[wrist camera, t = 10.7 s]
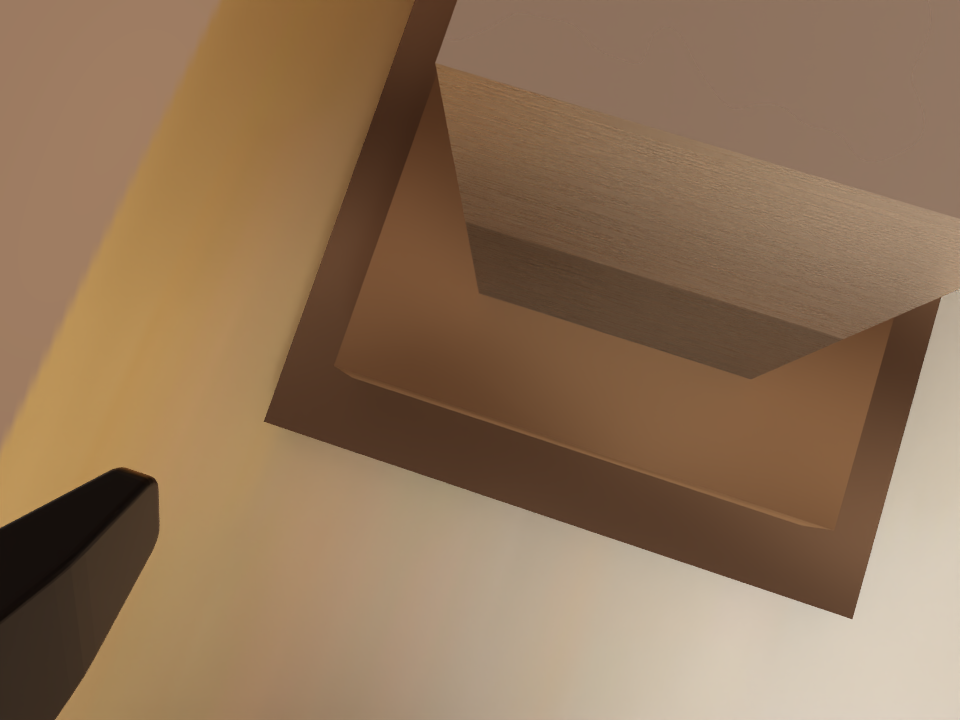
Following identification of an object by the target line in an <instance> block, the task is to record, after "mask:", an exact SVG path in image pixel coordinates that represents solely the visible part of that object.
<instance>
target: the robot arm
mask: <svg viewBox="0 0 960 720" xmlns="http://www.w3.org/2000/svg"><path fill="white" fill-rule="evenodd" d="M159 526H160V525H159V491H158V483H157V482H156V480H155V479H154V478H153V477H151V476H149V475H146V474H143V473H140V472H137V471H134V470H131V469H128V468H123V467H121V468H115V469H112V470H110V471H108V472H106V473H104V474H102V475H101V476H99V477H97V478H95V479H93V480H91V481H89V482H87V483H85V484H83V485H82V486H80V487H78V488H76V489H74V490H72V491H70V492H68V493H66V494H64V495H62V496H61V497H59V498H57V499H55V500H53V501H51V502H49V503H47V504H45V505H43V506H42V507H40V508H38V509H36V510H34V511H32V512H30V513H28V514H26V515H24V516H22V517H21V518H19V519H17V520H15V521H13V522H11V523H9V524H7V525H5V526H3V527H2V528H0V720H55V719H56V717H57V716H58V715H59V713H60V712H61V710H62V709H63V707H64V706H65V704H66V703H67V701H68V700H69V699H70V697H71V696H72V694H73V693H74V691H75V689H76V688H77V686H78V685H79V683H80V682H81V680H82V679H83V677H84V676H85V674H86V672H87V670H88V669H89V667H90V665H91V663H92V662H93V660H94V658H95V656H96V655H97V653H98V651H99V649H100V647H101V645H102V643H103V642H104V640H105V638H106V636H107V634H108V632H109V631H110V629H111V627H112V625H113V623H114V621H115V619H116V618H117V616H118V614H119V612H120V610H121V608H122V606H123V605H124V603H125V601H126V599H127V597H128V595H129V593H130V592H131V590H132V588H133V586H134V584H135V582H136V580H137V579H138V577H139V575H140V573H141V571H142V569H143V568H144V566H145V564H146V562H147V560H148V558H149V556H150V555H151V553H152V551H153V549H154V546H155V544H156V542H157V538H158V534H159Z"/></svg>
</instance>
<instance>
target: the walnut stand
mask: <svg viewBox="0 0 960 720" xmlns="http://www.w3.org/2000/svg"><path fill="white" fill-rule="evenodd" d="M456 3H457V0H415V2H414V5H413V8H412V11H411V14H410V16H409V19H408V22H407V25H406V27H405V30H404V33H403V36H402V39H401V41H400V44H399V47H398V50H397V53H396V55H395V58H394V61H393V64H392V66H391V69H390V72H389V75H388V78H387V80H386V83H385V86H384V89H383V91H382V94H381V97H380V100H379V103H378V105H377V108H376V111H375V114H374V117H373V119H372V122H371V125H370V128H369V130H368V133H367V136H366V139H365V142H364V144H363V147H362V150H361V153H360V156H359V158H358V161H357V164H356V167H355V169H354V172H353V175H352V178H351V181H350V183H349V186H348V189H347V192H346V194H345V197H344V200H343V203H342V206H341V208H340V211H339V214H338V217H337V220H336V222H335V225H334V228H333V231H332V233H331V236H330V239H329V242H328V245H327V247H326V250H325V253H324V256H323V258H322V261H321V264H320V267H319V270H318V272H317V275H316V278H315V281H314V284H313V286H312V289H311V292H310V295H309V297H308V300H307V303H306V306H305V309H304V311H303V314H302V317H301V320H300V323H299V325H298V328H297V331H296V334H295V336H294V339H293V342H292V345H291V348H290V350H289V353H288V356H287V359H286V361H285V364H284V367H283V370H282V373H281V375H280V378H279V381H278V384H277V387H276V389H275V392H274V395H273V398H272V400H271V403H270V406H269V409H268V412H267V414H266V417H265V420H264V422H267V423H270V424H273V425H276V426H279V427H282V428H285V429H288V430H291V431H294V432H297V433H300V434H303V435H306V436H309V437H312V438H315V439H318V440H321V441H324V442H326V443H329V444H332V445H335V446H338V447H341V448H344V449H347V450H350V451H353V452H356V453H359V454H362V455H365V456H368V457H371V458H374V459H377V460H380V461H383V462H386V463H389V464H392V465H395V466H398V467H401V468H404V469H407V470H410V471H413V472H416V473H419V474H422V475H425V476H428V477H431V478H434V479H437V480H440V481H443V482H446V483H449V484H452V485H454V486H457V487H460V488H463V489H466V490H469V491H472V492H475V493H478V494H481V495H484V496H487V497H490V498H493V499H496V500H499V501H502V502H505V503H508V504H511V505H514V506H517V507H520V508H523V509H526V510H529V511H532V512H535V513H538V514H541V515H544V516H547V517H550V518H553V519H556V520H559V521H562V522H565V523H568V524H571V525H574V526H577V527H580V528H583V529H585V530H588V531H591V532H594V533H597V534H600V535H603V536H606V537H609V538H612V539H615V540H618V541H621V542H624V543H627V544H630V545H633V546H636V547H639V548H642V549H645V550H648V551H651V552H654V553H657V554H660V555H663V556H666V557H669V558H672V559H675V560H678V561H681V562H684V563H687V564H690V565H693V566H696V567H699V568H702V569H705V570H708V571H711V572H713V573H716V574H719V575H722V576H725V577H728V578H731V579H734V580H737V581H740V582H743V583H746V584H749V585H752V586H755V587H758V588H761V589H764V590H767V591H770V592H773V593H776V594H779V595H782V596H785V597H788V598H791V599H794V600H797V601H800V602H803V603H806V604H809V605H812V606H815V607H818V608H821V609H824V610H827V611H830V612H833V613H836V614H839V615H841V616H844V617H847V618H850V619H852V618H853V615H854V611H855V608H856V604H857V600H858V597H859V593H860V589H861V586H862V582H863V579H864V575H865V571H866V568H867V564H868V560H869V557H870V553H871V550H872V546H873V542H874V539H875V535H876V531H877V528H878V524H879V521H880V517H881V513H882V510H883V506H884V502H885V499H886V495H887V491H888V488H889V484H890V481H891V477H892V473H893V470H894V466H895V462H896V459H897V455H898V452H899V448H900V444H901V441H902V437H903V433H904V430H905V426H906V423H907V419H908V415H909V412H910V408H911V404H912V401H913V397H914V394H915V390H916V386H917V383H918V379H919V375H920V372H921V368H922V365H923V361H924V357H925V354H926V350H927V346H928V343H929V339H930V336H931V332H932V328H933V325H934V321H935V317H936V314H937V310H938V306H939V303H940V299H941V297H940V298H937V299H935V300H933V301H930V302H928V303H926V304H923V305H921V306H919V307H917V308H914V309H912V310H910V311H907V312H905V313H903V314H900V315H898V316H896V317H894V318H891V319H889V320H887V321H884V322H882V323H880V324H877V325H875V326H873V327H870V328H868V329H866V330H864V331H861V332H859V333H857V334H854V335H852V336H850V337H847V338H845V339H843V340H841V341H838V342H836V343H834V344H831V345H829V346H827V347H824V348H822V349H820V350H818V351H815V352H813V353H811V354H808V355H806V356H804V357H801V358H799V359H797V360H795V361H792V362H790V363H788V364H785V365H783V366H781V367H778V368H776V369H774V370H772V371H769V372H767V373H765V374H762V375H760V376H758V377H755V378H753V379H748V378H745V377H742V376H739V375H736V374H732V373H729V372H726V371H723V370H720V369H717V368H714V367H710V366H707V365H704V364H701V363H698V362H695V361H691V360H688V359H685V358H682V357H679V356H676V355H672V354H669V353H666V352H663V351H660V350H657V349H653V348H650V347H647V346H644V345H641V344H638V343H635V342H631V341H628V340H625V339H622V338H619V337H616V336H612V335H609V334H606V333H603V332H600V331H597V330H593V329H590V328H587V327H584V326H581V325H578V324H574V323H571V322H568V321H565V320H562V319H559V318H556V317H552V316H549V315H546V314H543V313H540V312H537V311H533V310H530V309H527V308H524V307H521V306H518V305H514V304H511V303H508V302H505V301H502V300H499V299H495V298H492V297H489V296H486V295H483V294H480V293H479V291H478V286H477V280H476V275H475V270H474V265H473V259H472V254H471V249H470V244H469V238H468V233H467V228H466V222H465V217H464V212H463V207H462V201H461V196H460V191H459V186H458V180H457V175H456V170H455V164H454V159H453V154H452V149H451V143H450V138H449V133H448V128H447V122H446V117H445V112H444V106H443V101H442V96H441V91H440V85H439V80H438V75H437V70H436V64H435V62H436V60H437V57H438V54H439V51H440V48H441V45H442V42H443V40H444V37H445V34H446V31H447V28H448V25H449V23H450V20H451V17H452V14H453V11H454V8H455V5H456Z"/></svg>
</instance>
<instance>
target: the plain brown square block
mask: <svg viewBox="0 0 960 720" xmlns="http://www.w3.org/2000/svg"><path fill="white" fill-rule="evenodd" d="M435 64H436V70H437V75H438V80H439V85H440V91H441V96H442V101H443V106H444V112H445V117H446V122H447V128H448V133H449V138H450V143H451V149H452V154H453V159H454V164H455V170H456V175H457V180H458V186H459V191H460V196H461V201H462V207H463V212H464V217H465V222H466V228H467V233H468V238H469V244H470V249H471V254H472V259H473V265H474V270H475V275H476V280H477V286H478V291H479V293H480V294H483V295H486V296H489V297H492V298H495V299H499V300H502V301H505V302H508V303H511V304H514V305H518V306H521V307H524V308H527V309H530V310H533V311H537V312H540V313H543V314H546V315H549V316H552V317H556V318H559V319H562V320H565V321H568V322H571V323H574V324H578V325H581V326H584V327H587V328H590V329H593V330H597V331H600V332H603V333H606V334H609V335H612V336H616V337H619V338H622V339H625V340H628V341H631V342H635V343H638V344H641V345H644V346H647V347H650V348H653V349H657V350H660V351H663V352H666V353H669V354H672V355H676V356H679V357H682V358H685V359H688V360H691V361H695V362H698V363H701V364H704V365H707V366H710V367H714V368H717V369H720V370H723V371H726V372H729V373H732V374H736V375H739V376H742V377H745V378H748V379H753V378H755V377H758V376H760V375H762V374H765V373H767V372H769V371H772V370H774V369H776V368H778V367H781V366H783V365H785V364H788V363H790V362H792V361H795V360H797V359H799V358H801V357H804V356H806V355H808V354H811V353H813V352H815V351H818V350H820V349H822V348H824V347H827V346H829V345H831V344H834V343H836V342H838V341H841V340H843V339H845V338H847V337H850V336H852V335H854V334H857V333H859V332H861V331H864V330H866V329H868V328H870V327H873V326H875V325H877V324H880V323H882V322H884V321H887V320H889V319H891V318H894V317H896V316H898V315H900V314H903V313H905V312H907V311H910V310H912V309H914V308H917V307H919V306H921V305H923V304H926V303H928V302H930V301H933V300H935V299H937V298H940V297H942V296H944V295H946V294H949V293H951V292H953V291H956V290H958V289H960V0H457V3H456V5H455V8H454V11H453V14H452V17H451V20H450V23H449V25H448V28H447V31H446V34H445V37H444V40H443V42H442V45H441V48H440V51H439V54H438V57H437V60H436V62H435Z"/></svg>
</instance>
